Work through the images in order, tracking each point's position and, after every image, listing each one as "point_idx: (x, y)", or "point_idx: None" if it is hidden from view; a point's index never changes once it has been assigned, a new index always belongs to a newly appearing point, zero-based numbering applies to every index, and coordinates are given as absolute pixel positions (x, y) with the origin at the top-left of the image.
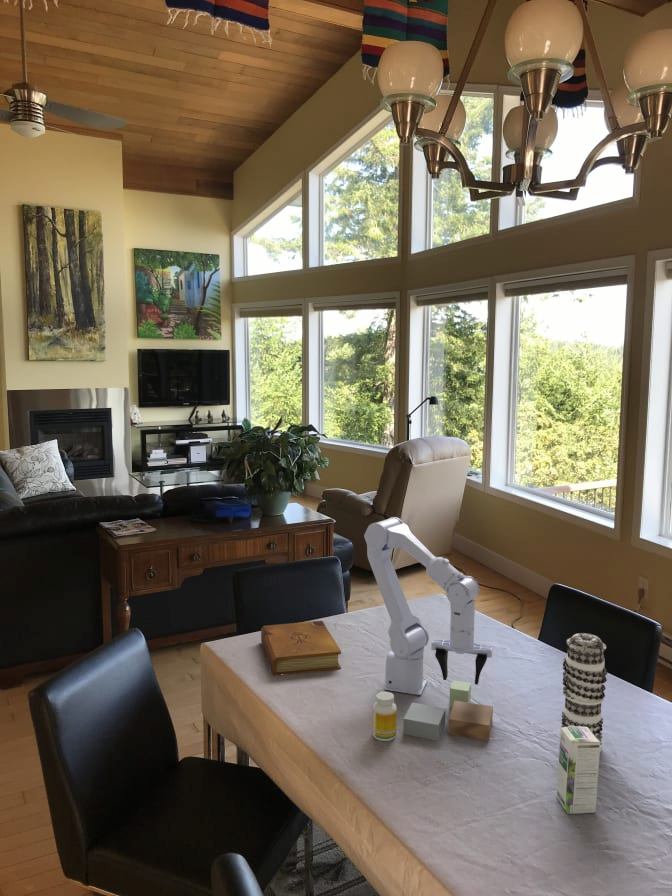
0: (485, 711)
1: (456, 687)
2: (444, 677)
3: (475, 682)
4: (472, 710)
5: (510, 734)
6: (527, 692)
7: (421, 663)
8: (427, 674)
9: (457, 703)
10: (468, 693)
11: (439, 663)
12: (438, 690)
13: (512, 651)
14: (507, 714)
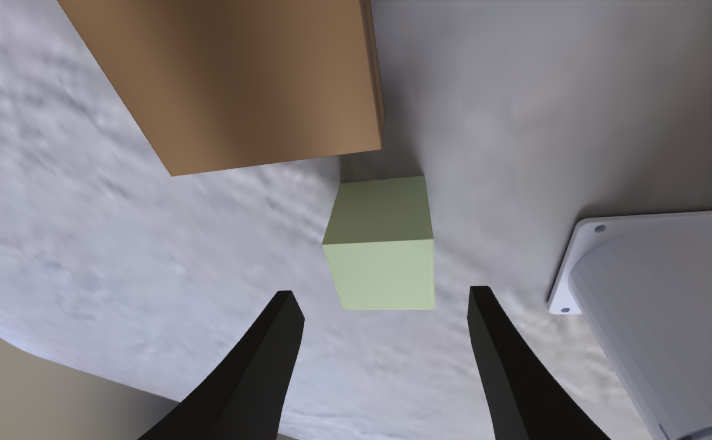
0: (156, 97)
1: (396, 257)
2: (485, 299)
3: (282, 299)
4: (222, 67)
5: (79, 56)
6: (234, 328)
7: (659, 387)
8: (541, 343)
9: (350, 119)
10: (326, 237)
11: (586, 420)
12: (492, 275)
13: (345, 428)
14: (202, 211)
